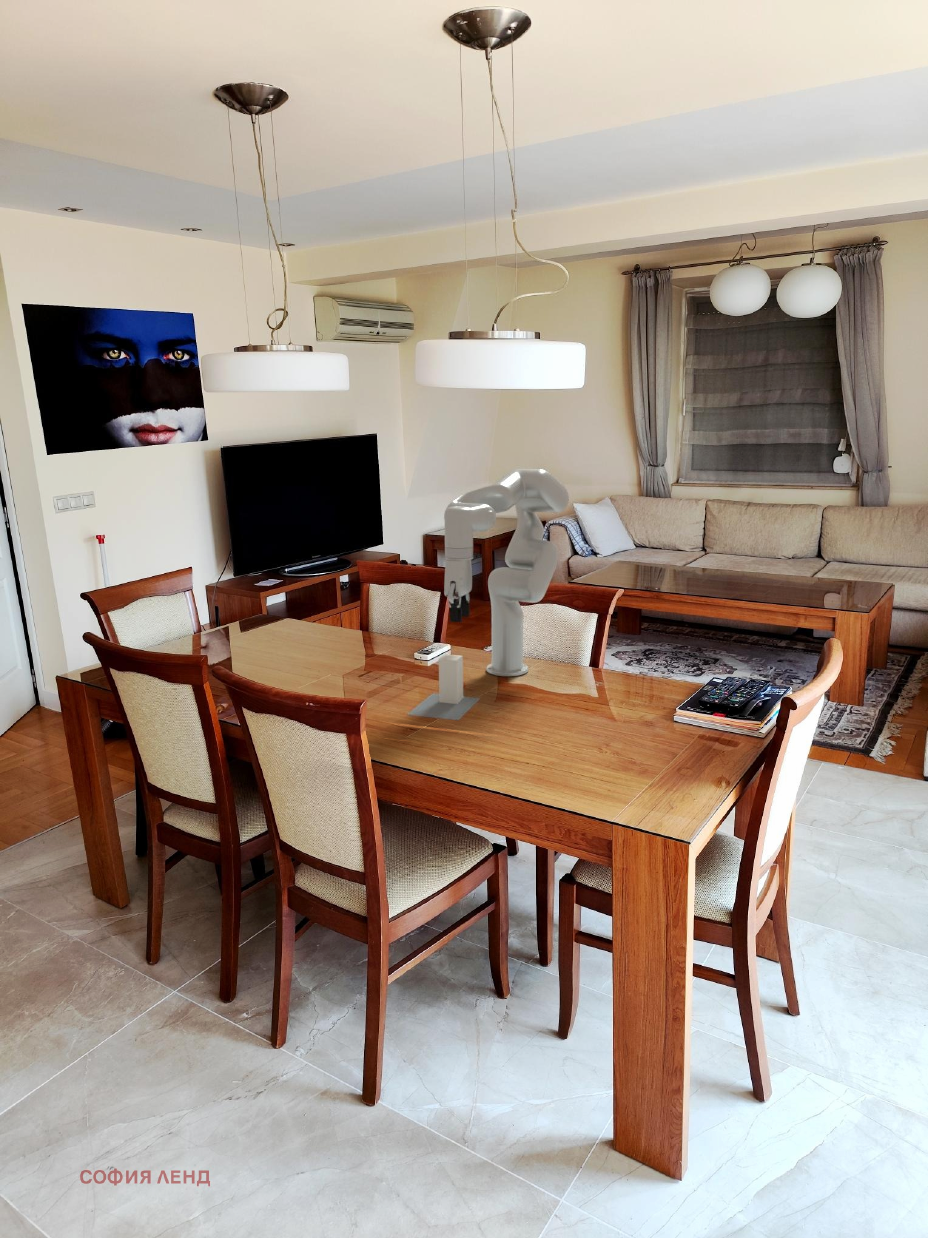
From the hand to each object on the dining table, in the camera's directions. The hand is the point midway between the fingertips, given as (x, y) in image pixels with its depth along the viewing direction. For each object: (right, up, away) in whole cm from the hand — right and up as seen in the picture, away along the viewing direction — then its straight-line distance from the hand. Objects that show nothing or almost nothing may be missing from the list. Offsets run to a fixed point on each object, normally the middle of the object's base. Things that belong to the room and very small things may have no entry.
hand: (459, 618), depth 230 cm
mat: (-4, -24, -6) cm, 25 cm away
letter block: (-2, -22, -2) cm, 22 cm away
